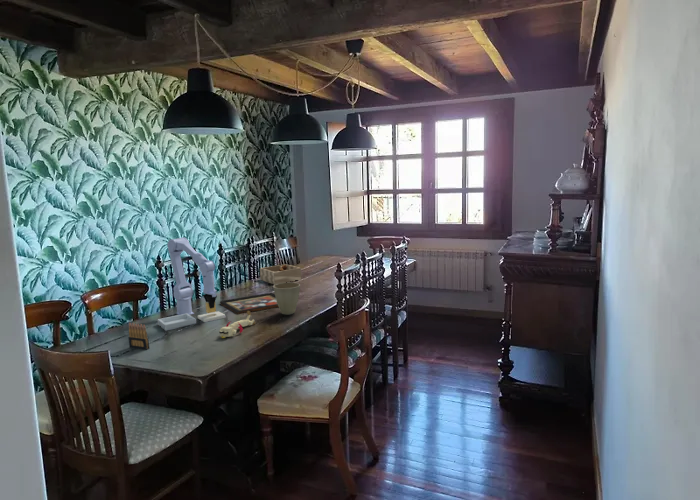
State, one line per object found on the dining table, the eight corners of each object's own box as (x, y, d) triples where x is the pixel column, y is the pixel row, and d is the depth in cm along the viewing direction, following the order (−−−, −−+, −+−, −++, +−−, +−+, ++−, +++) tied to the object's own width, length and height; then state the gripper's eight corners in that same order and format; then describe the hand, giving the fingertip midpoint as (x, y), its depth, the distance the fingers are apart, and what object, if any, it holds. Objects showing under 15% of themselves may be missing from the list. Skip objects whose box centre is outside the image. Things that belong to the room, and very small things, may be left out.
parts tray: (158, 324, 258) (157, 319, 257) (187, 318, 267) (187, 313, 267) (165, 330, 247) (165, 325, 246) (196, 324, 256) (195, 318, 256)
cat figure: (242, 326, 255) (213, 337, 231) (242, 309, 254) (212, 319, 231) (259, 327, 251) (230, 339, 228) (258, 311, 250) (230, 321, 227)
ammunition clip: (129, 347, 224) (126, 322, 222) (132, 346, 225) (129, 321, 223) (146, 349, 219) (143, 324, 217) (149, 348, 221) (146, 323, 219)
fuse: (206, 312, 264) (205, 301, 263) (214, 310, 267) (213, 300, 266) (208, 313, 262) (207, 302, 261) (216, 311, 265) (215, 301, 264)
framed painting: (240, 317, 267) (240, 312, 267) (214, 306, 294) (214, 301, 294) (298, 304, 291) (297, 299, 291) (268, 295, 318) (268, 291, 318)
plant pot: (276, 317, 262) (275, 289, 259) (273, 310, 276) (271, 283, 273) (303, 314, 266) (302, 286, 263) (298, 308, 280) (297, 281, 278)
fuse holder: (197, 318, 265) (197, 315, 265) (218, 314, 273) (218, 311, 272) (204, 322, 258) (204, 319, 257) (225, 318, 265) (225, 314, 264)
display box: (260, 279, 362) (259, 268, 361) (286, 275, 375) (285, 264, 374) (274, 284, 344) (274, 272, 343) (301, 279, 357) (300, 268, 355)
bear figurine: (271, 279, 363) (270, 263, 361) (291, 278, 365) (290, 262, 363) (271, 283, 350) (270, 267, 348) (292, 282, 352) (291, 265, 350)
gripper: (220, 284, 259) (222, 308, 261) (211, 280, 270) (212, 303, 272) (208, 286, 254) (210, 311, 257) (198, 282, 266) (200, 305, 268)
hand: (210, 307), depth 264 cm, fingers closed on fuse, 3 cm apart
